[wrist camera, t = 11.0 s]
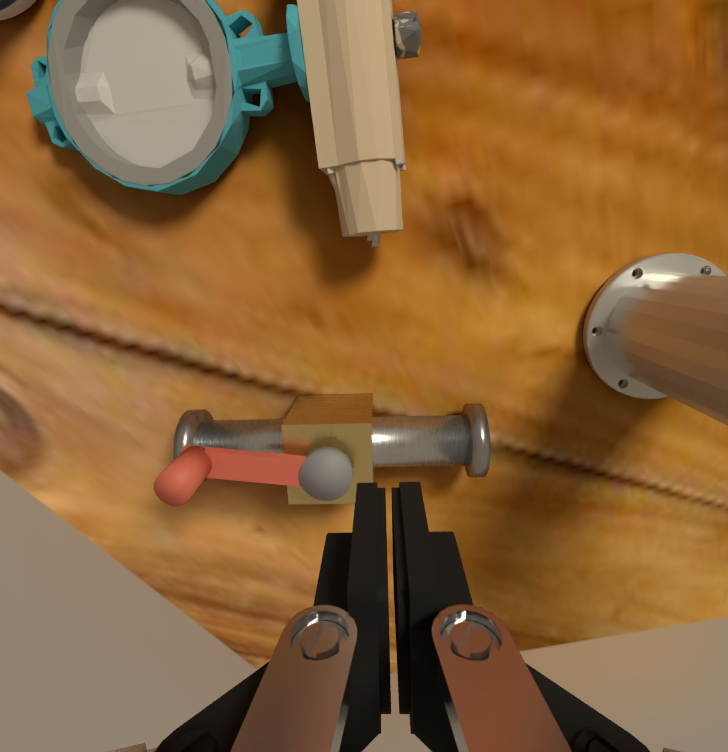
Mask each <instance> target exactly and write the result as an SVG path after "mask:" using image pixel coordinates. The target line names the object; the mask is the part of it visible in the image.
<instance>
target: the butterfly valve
mask: <svg viewBox="0 0 728 752" xmlns="http://www.w3.org/2000/svg"><path fill="white" fill-rule="evenodd" d="M393 16H394V20H393ZM286 21H287V32H286V33H280V34H274V35H267V36H263V31H262V27H261V24H260V23H259V22H258V20H257V19H256V18H255V16H254V15H252V14H250V13H248V12H246V11H244V10H241V11H239V12H237V13H234V14H232V15H230V16H226V15H225V14H224V13H223V11H222V10H221V9H220V8H219V6H218V5H217V4H216V2H215V1H214V0H59V2H58V3H57V5H56V6H55V8H54V10H53V14H52V17H51V20H50V24H49V27H48V30H47V57H37V58H36V60H35V61H34V62H33V64H32V65H31V67H32V73H33V78H34V83H35V88H34V89H32V90H30V91H29V92H27V93H26V95H27V98H28V101H29V105H30V108H31V116H33V117H34V118H36V119H37V120H38V121H39V122H41V123H42V124H43V125H44V126H45V127H47V130H48V132H49V135H50V138H51V141H52V143H54V144H56V145H58V146H60V147H62V148H66V149H69V150H73V151H77V150H78V151H79V152H80V153H81V154H82V155H83V156H84V157H85V158H86V159H87V160H88V161H89V162H90V163H91V165H92V166H93V167H94V168H96V169H97V170H99V171H101V172H102V173H104V174H106V175H107V176H109V177H111V178H112V179H114V180H116V181H117V182H119V183H121V184H122V185H124V186H127V187H133V188H138V189H143V190H148V191H154V192H161V193H169V194H176V195H184V194H186V193H189V192H191V191H194V190H196V189H199V188H201V187H204V186H206V185H209V184H211V183H214V182H215V181H216V180H217V179H218V178H219V177H220V176H221V174H222V173H223V172H224V171H225V170H226V168H227V167H228V166H229V165H230V164H231V163H232V161H233V160H234V159H235V158H236V157H237V155H238V154H239V151H240V149H241V146H242V144H243V142H244V139H245V137H246V135H247V132H248V130H249V122H250V116H266V115H267V114H268V113H269V112H270V111H271V110H272V109H273V108H274V107H273V92H272V88H274V87H278V86H282V85H286V84H290V83H294V82H298V84H299V87H300V89H301V91H302V93H303V95H304V98H305V100H306V102H308V101H309V102H310V105H311V113H312V121H313V128H314V136H315V143H316V151H317V159H318V166H319V169H320V170H321V171H323V172H324V173H325V174H326V175H328V177H329V179H330V181H331V183H332V186H333V188H334V190H335V194H336V200H337V206H338V212H339V218H340V224H341V230H342V236H343V237H360V236H367V241H372V245H371V247H376V246H378V244H379V239H380V234H384V233H390V232H396V231H400V230H403V220H402V203H401V186H400V171H404V170H406V164H405V152H404V140H403V128H402V116H401V105H400V93H399V81H398V69H397V58H398V60H399V59H406V58H412V57H418V56H419V52H420V47H421V37H422V34H421V24H420V21H419V18H418V15H417V12H414V11H409V12H404V13H399V14H394V15H393V10H392V0H297V5H296V4H287V12H286ZM252 23H253V25H252V27H251V29H250V30H249V32H248V34H247V35H246V37H241V34H240V33H241V32H242V31H244V30H245V29H246V28H247V27H249V26H250V25H251V24H252ZM396 56H397V57H396ZM254 94H261V97H260V107H259V106H255V105H252V99H253V95H254Z"/></svg>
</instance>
